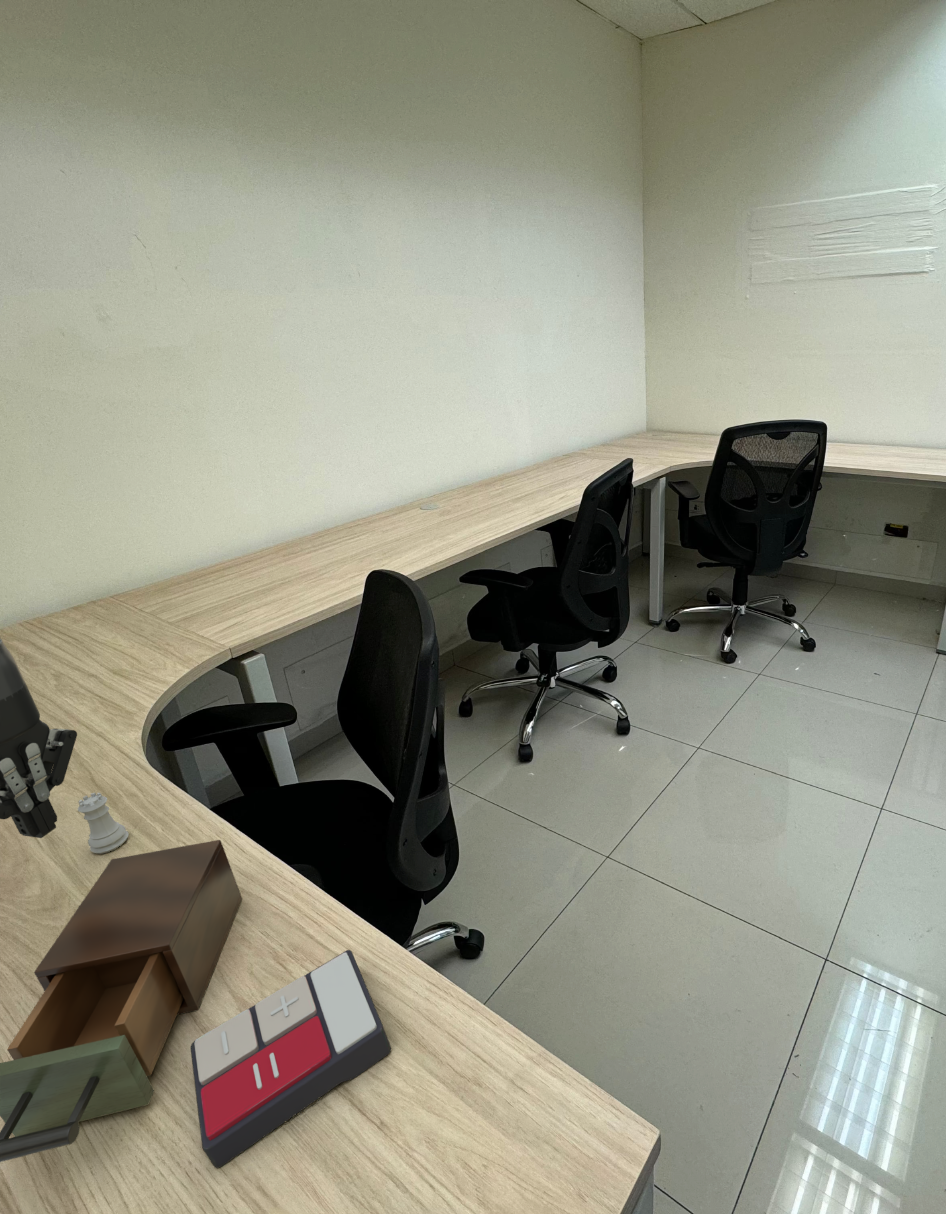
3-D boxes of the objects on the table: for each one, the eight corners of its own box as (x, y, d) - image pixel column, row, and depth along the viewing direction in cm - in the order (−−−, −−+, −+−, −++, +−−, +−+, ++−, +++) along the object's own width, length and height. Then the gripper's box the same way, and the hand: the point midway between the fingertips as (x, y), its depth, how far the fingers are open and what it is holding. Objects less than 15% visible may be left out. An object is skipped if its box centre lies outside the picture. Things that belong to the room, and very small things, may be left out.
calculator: (186, 1038, 58) (348, 942, 66) (202, 1065, 60) (358, 969, 68) (198, 1147, 50) (382, 1023, 58) (217, 1176, 52) (393, 1051, 59)
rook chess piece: (135, 840, 88) (115, 794, 85) (98, 860, 85) (76, 814, 82) (122, 828, 91) (102, 783, 88) (85, 847, 87) (64, 802, 84)
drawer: (121, 1169, 51) (86, 1112, 48) (-25, 1208, 49) (-71, 1151, 46) (204, 969, 68) (182, 917, 65) (97, 992, 66) (69, 940, 63)
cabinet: (198, 1010, 64) (168, 944, 61) (72, 1038, 62) (33, 972, 58) (242, 898, 78) (220, 839, 74) (139, 919, 75) (111, 858, 72)
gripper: (-79, 734, 54) (4, 885, 60) (70, 663, 65) (126, 795, 72) (-144, 728, 55) (-55, 876, 62) (14, 659, 67) (74, 789, 74)
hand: (42, 832), depth 67 cm, fingers closed
